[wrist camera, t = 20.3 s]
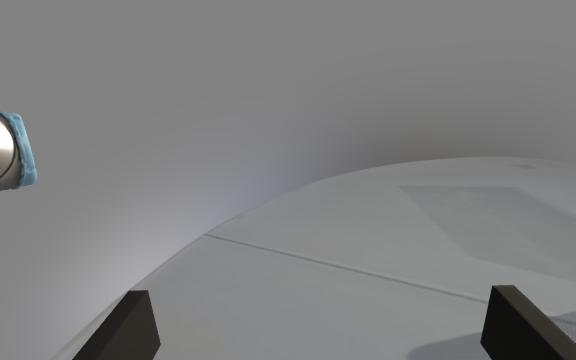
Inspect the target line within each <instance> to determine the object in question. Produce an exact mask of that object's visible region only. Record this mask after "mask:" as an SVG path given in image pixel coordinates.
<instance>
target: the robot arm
mask: <svg viewBox="0 0 576 360" xmlns="http://www.w3.org/2000/svg"><path fill="white" fill-rule="evenodd" d="M36 180H37V171H36V167H35V163H34V159H33V155H32V151H31V148H30V144H29V141H28V137H27V134H26V131H25V128H24V124H23V122H22V119H21V117H20V116H19V115H18V114H15V113H4V112H0V191H2V190H8V189H18V188H20V187H22V186H26V185H31V184H33V183H34V182H35V181H36ZM480 343H481V345H482V346H483V347H484V349H485V350H486V352H487V353H488V355H489V356H490V358H491V359H492V360H576V343H575V342H573V341H572V340H571V339H570V338H569V337H568V336H567V335H566V334H565V333H564V332H563V331H562V330H561V329H560V328H559V327H558V326H556V325H555V324H554V323H553V322H552V321H551V320H550V319H549V318H548V317H547V316H546V315H545V314H544V313H543V312H542V311H541V310H539V309H538V308H537V307H536V306H535V305H534V304H533V303H532V302H531V301H530V300H529V299H528V298H527V297H526V296H525V295H523V294H522V293H521V292H520V291H519V290H518V289H517V288H516V287H515V286H514V285H499V286H492V290H491V294H490V299H489V304H488V309H487V314H486V318H485V323H484V328H483V333H482V338H481V342H480ZM160 345H161V343H160V339H159V335H158V331H157V327H156V322H155V318H154V314H153V310H152V306H151V301H150V297H149V293H148V290H141V291H128V292H127V294H126V295H125V296H124V297H123V299H122V300H121V301H120V302H119V303H118V305H117V306H116V307H115V308H114V309H113V311H112V312H111V313H110V314H109V316H108V317H107V318H106V319H105V320H104V322H103V323H102V324H101V325H100V326H99V328H98V329H97V330H96V331H95V333H94V334H93V335H92V336H91V337H90V339H89V340H88V341H87V342H86V343H85V345H84V346H83V347H82V348H81V350H80V351H79V352H78V353H77V354H76V356H75V357H74V358H73V359H72V360H153V358H154V356H155V354H156V352H157V350H158V349H159V347H160Z"/></svg>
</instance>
